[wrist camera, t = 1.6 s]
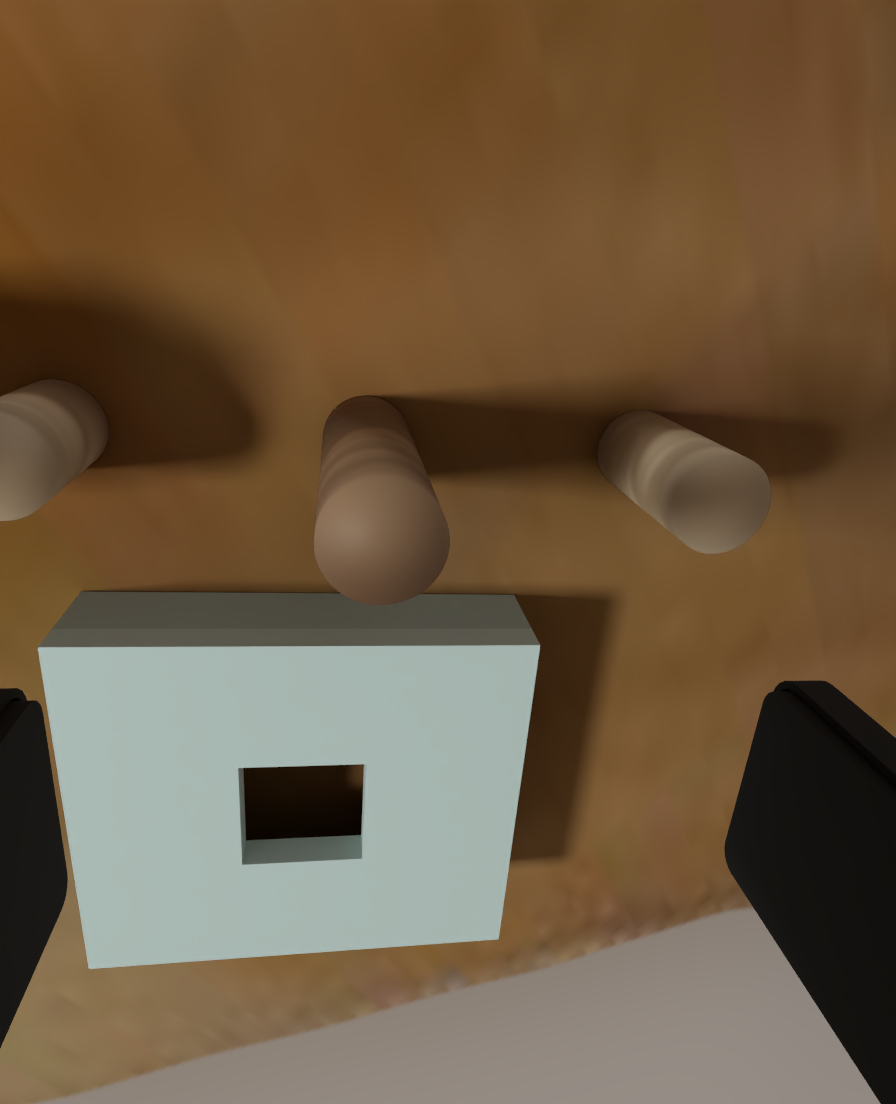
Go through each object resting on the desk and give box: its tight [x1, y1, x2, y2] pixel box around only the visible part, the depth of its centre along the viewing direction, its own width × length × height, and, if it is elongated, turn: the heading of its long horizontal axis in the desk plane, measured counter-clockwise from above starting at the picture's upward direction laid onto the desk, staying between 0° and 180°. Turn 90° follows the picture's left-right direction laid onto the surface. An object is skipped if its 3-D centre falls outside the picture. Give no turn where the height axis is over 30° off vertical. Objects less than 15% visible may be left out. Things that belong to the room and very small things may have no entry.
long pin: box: [314, 396, 450, 605], centre depth 20 cm, size 3×3×10 cm
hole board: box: [38, 591, 540, 969], centre depth 27 cm, size 14×16×4 cm
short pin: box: [0, 379, 109, 521], centre depth 21 cm, size 3×3×5 cm
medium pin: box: [597, 410, 771, 554], centre depth 23 cm, size 3×3×6 cm
